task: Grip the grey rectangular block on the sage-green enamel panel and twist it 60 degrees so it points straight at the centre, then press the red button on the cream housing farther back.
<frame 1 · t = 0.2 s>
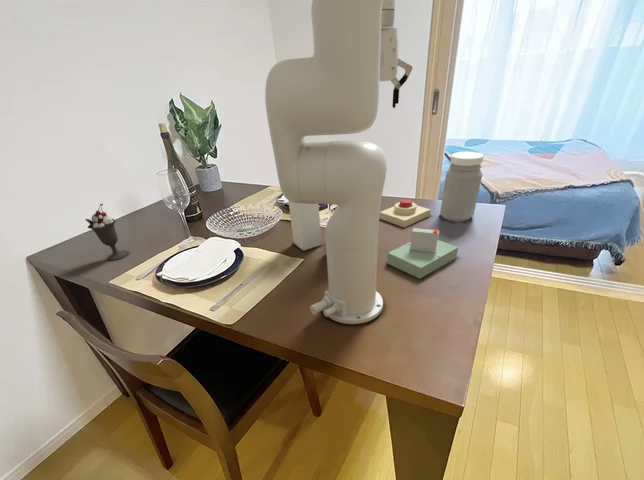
hand: (375, 108, 86), 31 cm above the table, tool pointing down, fingers open, 9 cm apart
grey rectangular block: (424, 240, 79), point 6 cm above the table, hinge at -60.0°
air freshener: (345, 257, 86), on the table
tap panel: (421, 260, 82), on the table
sundae: (118, 256, 96), on the table
milk: (307, 244, 94), on the table
jar: (455, 217, 102), on the table
button: (405, 203, 102), point 4 cm above the table, slide at 0.1 cm
button box: (404, 217, 104), on the table
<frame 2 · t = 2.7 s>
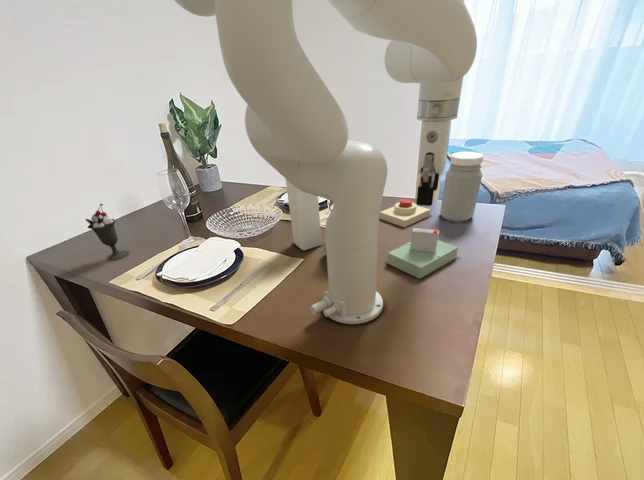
hand: (427, 197, 74), 16 cm above the table, tool pointing down, fingers open, 9 cm apart
nothing on the table moved.
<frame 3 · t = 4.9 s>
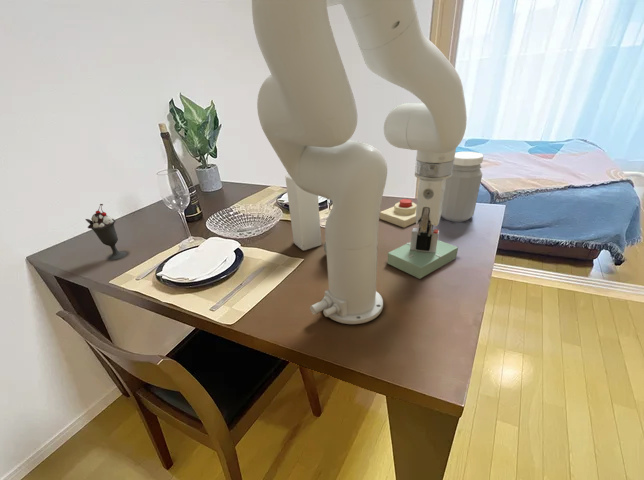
hand: (423, 246, 80), 4 cm above the table, tool pointing down, fingers closed on grey rectangular block, 2 cm apart
grey rectangular block: (424, 240, 79), point 6 cm above the table, hinge at -60.0°, touching gripper
everything else where it was.
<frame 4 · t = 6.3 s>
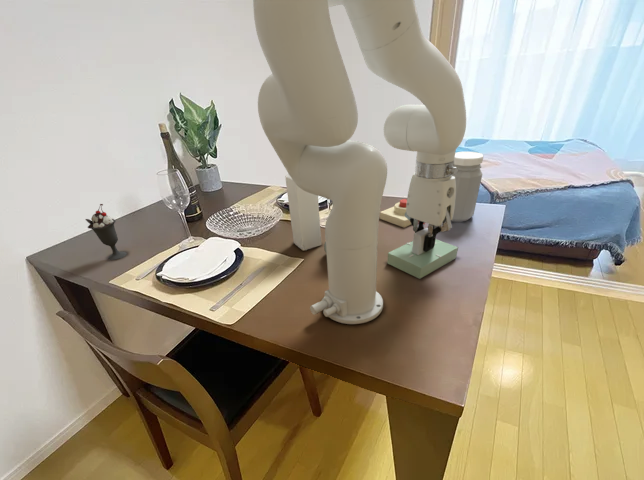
hand: (423, 247, 80), 4 cm above the table, tool pointing down, fingers closed
grey rectangular block: (424, 240, 79), point 6 cm above the table, hinge at -0.2°
everything else where it was.
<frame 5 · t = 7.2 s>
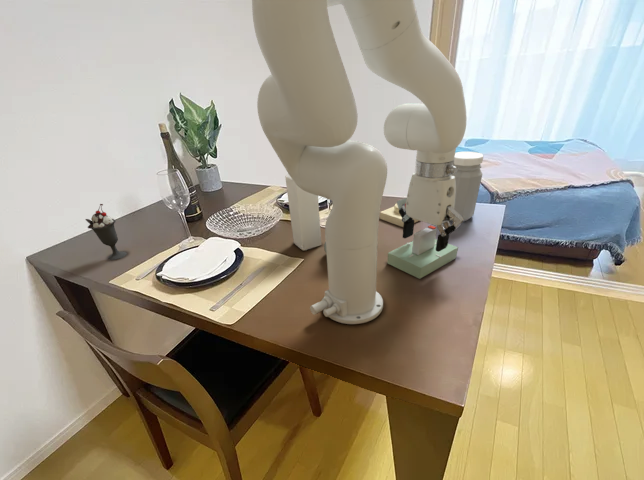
hand: (423, 242, 79), 5 cm above the table, tool pointing down, fingers open, 9 cm apart
nothing on the table moved.
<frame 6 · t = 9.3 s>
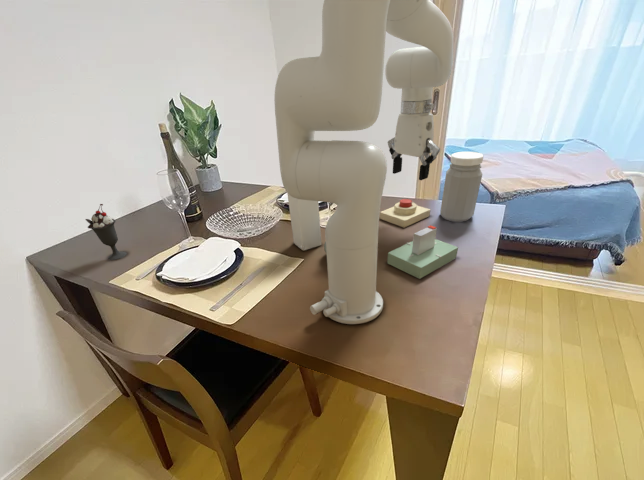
hand: (409, 175, 95), 13 cm above the table, tool pointing down, fingers open, 9 cm apart
nothing on the table moved.
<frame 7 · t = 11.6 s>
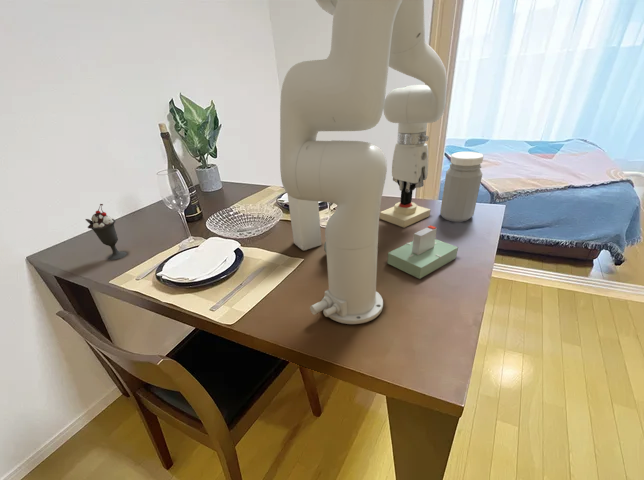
hand: (405, 203, 102), 5 cm above the table, tool pointing down, fingers closed
button: (405, 206, 102), point 4 cm above the table, slide at -0.7 cm, touching gripper
everything else where it was.
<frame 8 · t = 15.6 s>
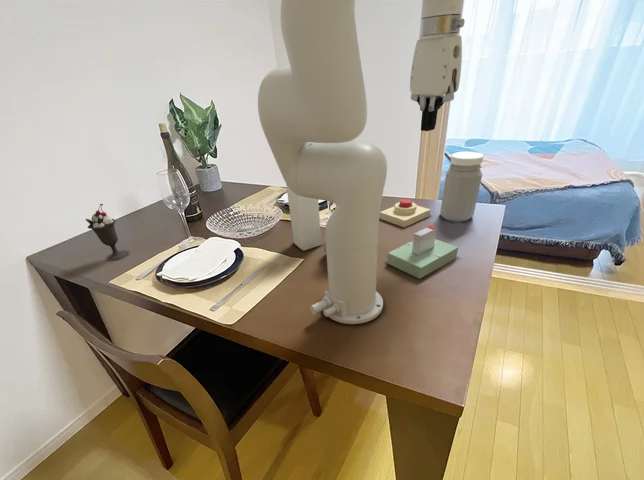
hand: (427, 129, 77), 27 cm above the table, tool pointing down, fingers closed
button: (405, 203, 102), point 4 cm above the table, slide at 0.1 cm
everything else where it was.
at the end: grey rectangular block at +0° (first picture: -60°); button pushed in 1.1 cm at the most during the clip, back to where it started at the end; button slide at 0.1 cm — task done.
